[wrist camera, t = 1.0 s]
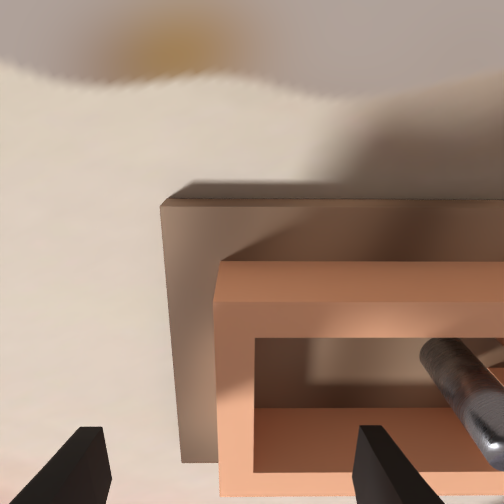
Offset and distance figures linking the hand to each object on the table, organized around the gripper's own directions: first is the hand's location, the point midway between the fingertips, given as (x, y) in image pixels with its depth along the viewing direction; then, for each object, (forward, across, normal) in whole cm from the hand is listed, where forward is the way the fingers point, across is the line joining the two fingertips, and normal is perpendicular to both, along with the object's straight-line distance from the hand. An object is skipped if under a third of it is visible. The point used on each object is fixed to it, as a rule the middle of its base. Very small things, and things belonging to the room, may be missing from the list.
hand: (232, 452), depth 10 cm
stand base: (+6, -6, 0) cm, 8 cm away
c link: (+5, -6, 0) cm, 7 cm away
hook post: (+5, -8, 0) cm, 9 cm away
